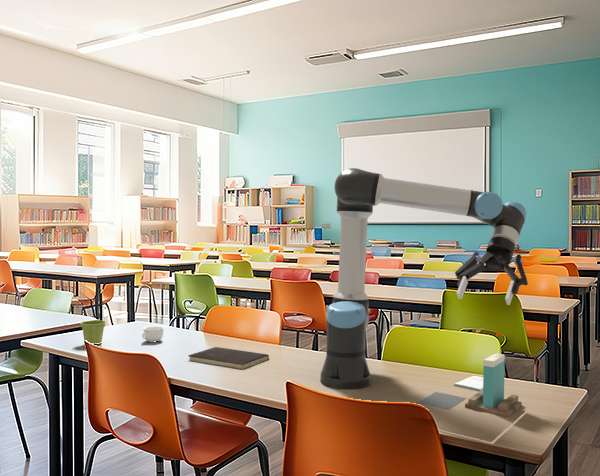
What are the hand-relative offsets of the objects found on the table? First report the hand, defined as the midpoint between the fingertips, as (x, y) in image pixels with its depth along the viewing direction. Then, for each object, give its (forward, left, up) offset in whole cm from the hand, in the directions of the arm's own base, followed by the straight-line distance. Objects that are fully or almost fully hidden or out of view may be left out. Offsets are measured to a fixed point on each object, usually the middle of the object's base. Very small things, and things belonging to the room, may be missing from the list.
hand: (482, 299), depth 153 cm
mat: (+3, -13, -27) cm, 30 cm away
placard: (+10, -2, -26) cm, 28 cm away
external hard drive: (-9, +4, -28) cm, 30 cm away
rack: (+10, -2, -27) cm, 29 cm away
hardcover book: (-54, -65, -28) cm, 89 cm away
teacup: (-89, -93, -27) cm, 132 cm away
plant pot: (-88, -115, -27) cm, 148 cm away
